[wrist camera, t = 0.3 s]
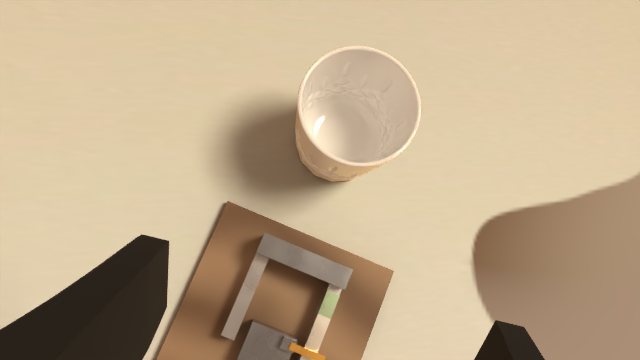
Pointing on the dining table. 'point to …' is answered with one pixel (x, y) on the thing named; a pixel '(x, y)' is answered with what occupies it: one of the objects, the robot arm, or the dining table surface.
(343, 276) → the gauge body
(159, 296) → the robot arm
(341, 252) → the walnut board
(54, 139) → the dining table surface
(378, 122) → the white cup
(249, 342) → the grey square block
